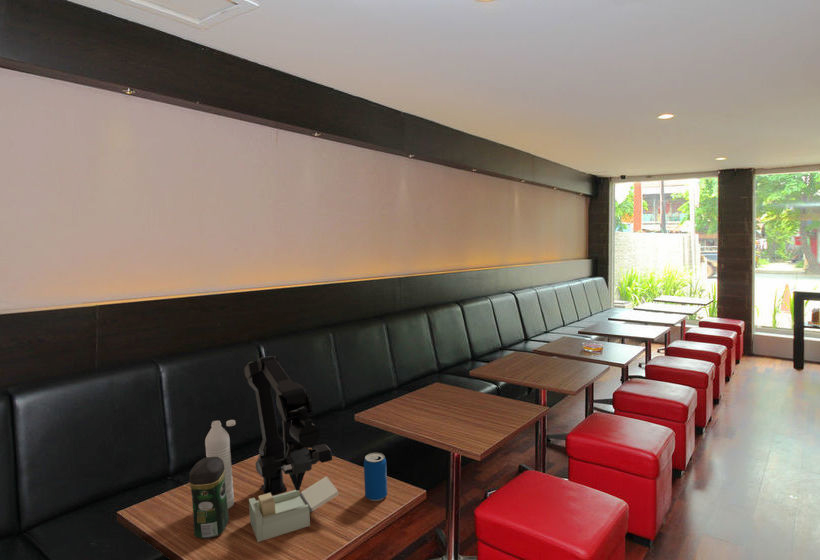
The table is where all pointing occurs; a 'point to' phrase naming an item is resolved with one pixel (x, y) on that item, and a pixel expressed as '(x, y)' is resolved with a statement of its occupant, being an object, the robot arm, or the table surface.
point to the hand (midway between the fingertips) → (297, 489)
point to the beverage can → (375, 476)
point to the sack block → (266, 505)
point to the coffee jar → (209, 497)
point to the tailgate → (319, 493)
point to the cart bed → (279, 516)
